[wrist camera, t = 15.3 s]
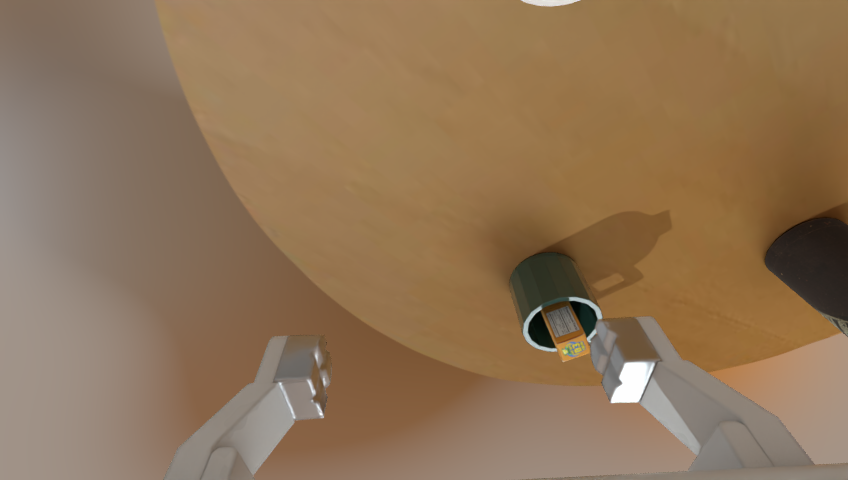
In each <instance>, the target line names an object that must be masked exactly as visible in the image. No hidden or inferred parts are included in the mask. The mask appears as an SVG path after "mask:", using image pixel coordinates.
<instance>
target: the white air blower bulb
mask: <svg viewBox="0 0 848 480" xmlns="http://www.w3.org/2000/svg"><path fill="white" fill-rule="evenodd" d="M521 1H523V2H526V3H530V4H534V5H538V6H559V5H566V4H571V3H574V2H577V1H580V0H521Z"/></svg>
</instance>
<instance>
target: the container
mask: <svg viewBox="0 0 848 480" xmlns="http://www.w3.org/2000/svg"><path fill="white" fill-rule="evenodd" d="M765 264H766V266H767V268H768V269H769V270H770V271H771V272H772V273H774V274H775V275H776V276H777V277H778V278H779V279H780V280H782V281H783V282H784V283H785V284H786V285H788V286H789V287H790V288H791V289H792V290H793V291H795V292H796V293H797V294H798V295H799V296H800V297H802V298H803V299H804V300H805V301H806V302H808V303H809V304H810V305H811V306H812V307H813V308H815V309H816V310H817V311H818V312H819V313H820V314H822V315H823V316H824V317H825V318H826V319H828V320H829V321H830V322H831V323H832V324H833V325H834V326H836V327H837V328H838V329H839V330H840V331H841V332H843V333H844V334H845V335H846V336H847V337H848V225H847V224H845V223H843V222H842V221H840V220H837V219H833V218H820V219H814V220H811V221H808V222H805V223H802V224H800V225H798V226H796V227H794V228H792V229H791V230H789V231H787V232H786V233H784V234H783V235H782V236H781V237H779V238H778V239H777V240H776V241H775V242H774V243H773V244H772V246H771V247H770V248H769V250H768V252H767V255H766V258H765Z"/></svg>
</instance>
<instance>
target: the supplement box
mask: <svg viewBox="0 0 848 480" xmlns="http://www.w3.org/2000/svg"><path fill="white" fill-rule="evenodd" d="M540 311H541V313H542V316H543V318H544V321H545V323H546V326H547V328H548V330H549V332H550V335H551V337H552V340H553V342H554V344H555V347H556V349H557V351H558V354H559V356H560V358H561V360H562V362H565V361H568V360H571V359H574V358H577V357H580V356H582V355H585V354H588V353H590V347H589V344H588V341H587V338H586V335H585V332H584V330H583V328H582V326H581V324H580V322H579V320H578V319H577V317H576V315H575V312H574V310H573V308H572V307H571V305H570V303H569V301H561V302H558V303H555V304H552V305H549V306H546V307H545V308H543V309H542V310H540Z"/></svg>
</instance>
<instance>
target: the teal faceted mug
mask: <svg viewBox="0 0 848 480" xmlns="http://www.w3.org/2000/svg"><path fill="white" fill-rule="evenodd" d="M509 286H510V292H511V295H512V299H513V302H514V306H515V309H516V313H517V316H518V320H519V323H520V327H521V330H522V333H523V335H524V337H525V339H526V341H527V343H529V344H530V345H532V346H533V347H535V348H537V349H540V350H544V351H550V352H553V351H557V349H556V347H555V344H554V342H553V340H552V337H551V335H550V332H549V330H548V328H547V326H546V323H545V321H544V318H543V316H542V313H541V311H540V310H542V309H543V308H545V307H546V306H549V305H552V304H555V303H558V302H561V301H569V303H570V305H571V307H572V308H573V310H574V312H575V315H576V317H577V319H578V320H579V322H580V324H581V326H582V328H583V330H584V332H585V335H586V338H587V341H588V344H589V346H590V344H591V340H592V338H593V337H594V336H595V335H596V333H597V332H596V330H595V325H596V322H597V321H598V320H599V319H603V316H602V313H601V310H600V307H599V305H598V303H597V301H596V299H595V298H594V296H593V294H592V292H591V290H590V288H589V286H588V284H587V282H586V280H585V279H584V277H583V275H582V273H581V271H580V269H579V267H578V266H577V264H576V263H575V262H574V261H573V260H572V259H571V258H570V257H568V256H566V255H563V254H560V253H553V252H548V253H541V254H537V255H534V256H532V257H529V258H527V259H526V260H524V261H523V262H521V263H520V264H519V265H518V266H517V267H516V268H515V270H514V271H513V273H512V275H511V277H510V282H509Z"/></svg>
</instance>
